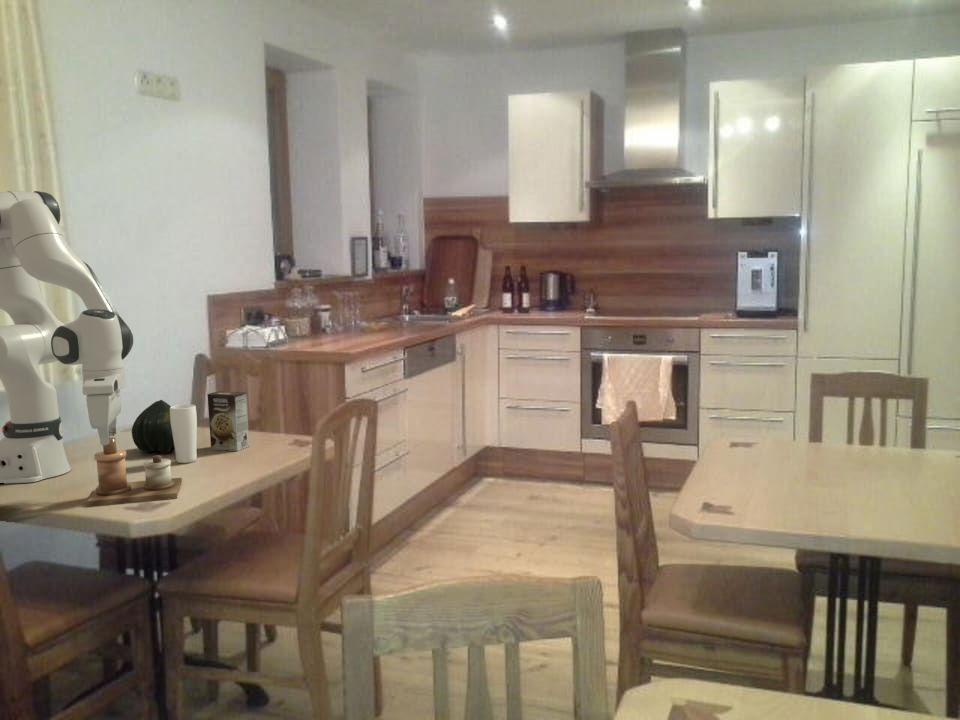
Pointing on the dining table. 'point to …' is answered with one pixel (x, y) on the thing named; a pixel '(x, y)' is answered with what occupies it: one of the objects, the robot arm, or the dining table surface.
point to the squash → (154, 429)
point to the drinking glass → (184, 432)
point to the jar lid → (110, 452)
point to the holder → (134, 483)
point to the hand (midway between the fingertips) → (108, 439)
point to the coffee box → (228, 420)
